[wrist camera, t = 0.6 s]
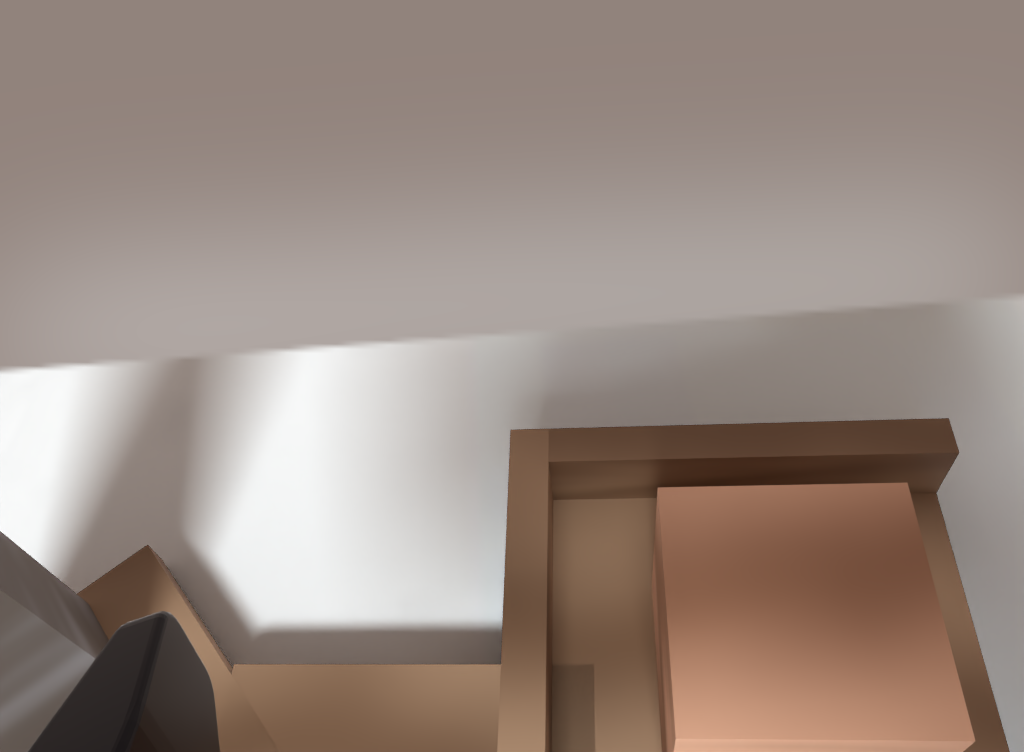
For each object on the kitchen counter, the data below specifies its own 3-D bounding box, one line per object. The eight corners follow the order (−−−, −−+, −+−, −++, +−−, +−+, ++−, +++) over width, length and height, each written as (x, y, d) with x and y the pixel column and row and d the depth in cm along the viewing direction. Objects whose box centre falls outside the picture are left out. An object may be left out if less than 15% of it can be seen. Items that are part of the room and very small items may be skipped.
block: (901, 804, 19) (975, 741, 15) (665, 800, 20) (675, 739, 16) (856, 583, 22) (907, 482, 18) (651, 585, 23) (657, 487, 19)
